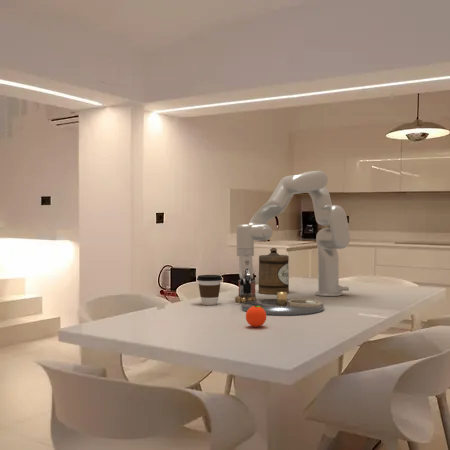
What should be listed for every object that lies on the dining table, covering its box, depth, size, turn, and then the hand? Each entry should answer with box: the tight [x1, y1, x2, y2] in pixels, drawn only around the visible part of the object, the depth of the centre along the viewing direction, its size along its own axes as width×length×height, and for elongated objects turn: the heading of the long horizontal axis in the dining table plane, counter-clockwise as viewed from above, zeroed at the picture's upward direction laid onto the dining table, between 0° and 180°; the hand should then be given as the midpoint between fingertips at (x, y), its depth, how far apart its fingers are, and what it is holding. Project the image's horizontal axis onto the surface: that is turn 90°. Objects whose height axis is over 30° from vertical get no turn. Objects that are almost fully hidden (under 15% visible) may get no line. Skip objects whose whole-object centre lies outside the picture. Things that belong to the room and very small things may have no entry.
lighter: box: [237, 276, 257, 298], centre depth 254 cm, size 8×3×10 cm, turn 84°
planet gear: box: [234, 285, 257, 304], centre depth 238 cm, size 9×9×7 cm
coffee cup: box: [196, 274, 223, 306], centre depth 232 cm, size 11×11×12 cm
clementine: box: [245, 306, 267, 328], centre depth 183 cm, size 8×7×7 cm
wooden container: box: [258, 247, 290, 296], centre depth 268 cm, size 15×15×22 cm
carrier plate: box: [240, 292, 325, 317], centre depth 219 cm, size 33×33×6 cm
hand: (245, 291), depth 238 cm, fingers open, 9 cm apart
